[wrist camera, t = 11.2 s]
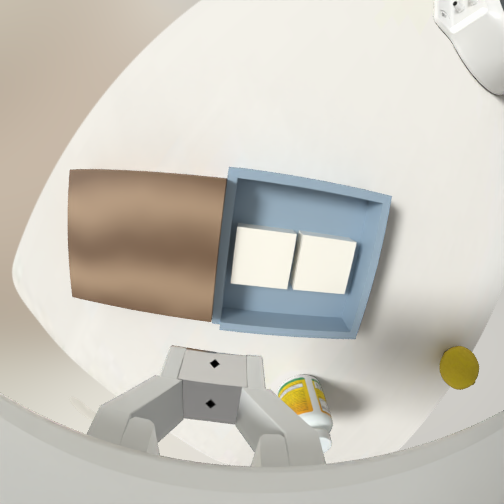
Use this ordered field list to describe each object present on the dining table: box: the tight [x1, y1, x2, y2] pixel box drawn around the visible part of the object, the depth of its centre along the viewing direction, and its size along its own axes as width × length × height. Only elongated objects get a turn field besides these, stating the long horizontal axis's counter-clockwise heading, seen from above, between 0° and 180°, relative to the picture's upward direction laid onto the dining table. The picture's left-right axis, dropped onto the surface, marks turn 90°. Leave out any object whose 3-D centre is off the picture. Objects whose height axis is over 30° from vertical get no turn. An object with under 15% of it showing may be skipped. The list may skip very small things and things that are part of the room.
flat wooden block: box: [68, 169, 227, 322], centre depth 23 cm, size 12×14×4 cm
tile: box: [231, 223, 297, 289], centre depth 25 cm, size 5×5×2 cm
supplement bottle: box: [278, 375, 333, 453], centre depth 26 cm, size 5×5×10 cm
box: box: [212, 167, 392, 339], centre depth 25 cm, size 14×14×4 cm
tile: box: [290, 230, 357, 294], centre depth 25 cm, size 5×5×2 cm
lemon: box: [440, 346, 479, 390], centre depth 27 cm, size 6×6×8 cm
